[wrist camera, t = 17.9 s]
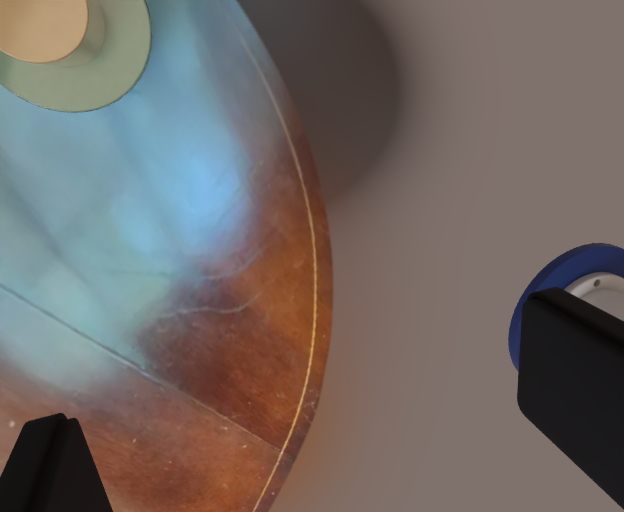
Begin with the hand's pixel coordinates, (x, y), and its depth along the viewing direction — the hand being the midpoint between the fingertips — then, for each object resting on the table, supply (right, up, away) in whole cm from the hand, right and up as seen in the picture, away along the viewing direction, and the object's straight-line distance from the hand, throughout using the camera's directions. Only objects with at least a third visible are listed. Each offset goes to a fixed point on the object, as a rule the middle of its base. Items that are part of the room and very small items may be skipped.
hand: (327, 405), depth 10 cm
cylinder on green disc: (-12, +14, +13) cm, 23 cm away
